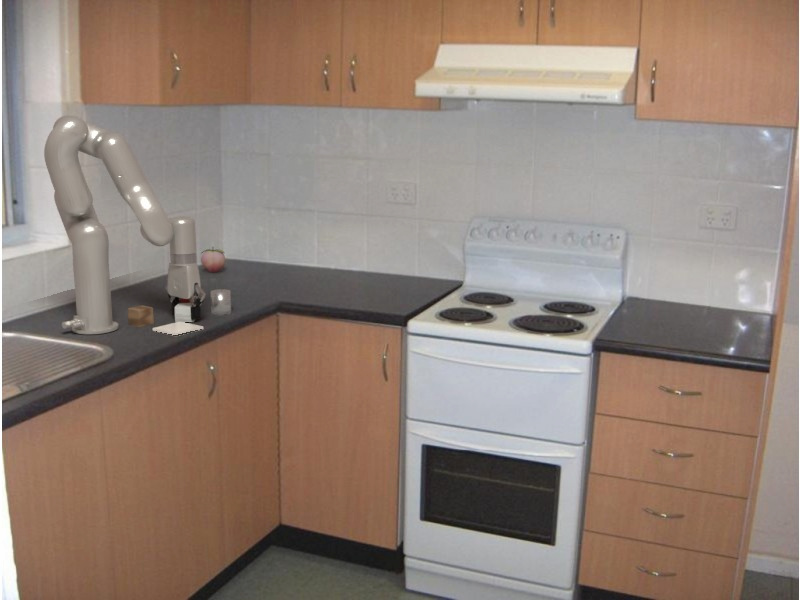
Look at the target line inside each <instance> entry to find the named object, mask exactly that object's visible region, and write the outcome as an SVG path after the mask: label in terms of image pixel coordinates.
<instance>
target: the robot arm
mask: <svg viewBox="0 0 800 600" xmlns="http://www.w3.org/2000/svg"><path fill="white" fill-rule="evenodd" d="M79 152H81V153H83V154H86V155H88V156H90V157H94V158H97V159H99V160H101V161H102V163H103V165H104V167H105V169H106V171H107V173H108V175H109V176H110V178H111V180H112V182H113V183H114V186H115V188H116V190H117V192H118V193H119V194H120V196H121V198H122V199H123V201H125V202H126V204H127V205H128V206H129V207H130V209H131V210H132V212H133V213H134V215H135V216H136V218H137V220H138V223H139V224H140V226H139V231H140V234H141V236H142V238H143V239H144V240H145V241H147V242H148V243H150V244H151V245H153V246H155V247H165V246H166V245H168V244H169V253H170V254H169V255H170V262H169V264H168V269H167V285H166V286H165V290H166V292H167V296H168V298H169V302H170V303H171V315H172V316H173V317H175V306H176V305H177V304H178V303H181V301H179V300H180V298H184V299H189V300H190V302H191V305H192V307H191V319H192V320H195V319H196V320H199V319H201V317H202V316H201V306H202V303H203V302H204V299H205V298H206V296H207V295H206V292H205V291H204V290H203V289H202V287H201V285H202V284H201V276H200V275H201V274H200V269H199V265H198V261H197V260H198V259H197V240H196V239H197V237H196V222H195V221H196V220H195V219H194V218H193V217H191V216H174V217H168V216H167V214H166V211H165V210H164V208H163V206H162V204H161V203H160V201H159V199H158V198H157V196H156V194H155V193H154V191H153V188H152V186H151V185H150V183H149V181H148V179H147V178H146V176H145V173H144V172H143V170H142V168H141V166H140V164H139V162H138V160H137V157H136V156H135V154H134V152H133V150H132V148H131V146H130V143H129V142H128V140H127V139H126V138H125V136H124V135H122V134H120V133H118V132H114V131H110V130H107V129H104V128H101V127H100V126H97V125H94V124H92V123H90V122H87V121H85V120H84V119H82V118H81V117H79V116H77V115H70V114H69V115H67V114H66V115H62V116H61V117H59V118H57V119H56V121H55V122H54V123H53V127H52V130H51V131H50V132H49V134H48V135H47V138H46V141H45V145H44V151H43V153H44V154H43V156H44V162H45V166H46V169H47V172H48V175H49V178H50V181H51V184H52V187H53V189H54V194H53V198H54V199H53V200H54V203H55V206H56V209H57V212H58V213H59V217H60V219H61V222H62V225H63V228H64V230H65V232H66V235H67V237H68V239H69V241H70V243H71V247H72V266H73V267H72V271H73V279H74V293H75V294H74V295H75V307H76V315H73V318H72V319H71V320H67V321H62V322H61V328H62V329H64V330H65V329H69V328H71V329H72V332H73V333H75V334H79V335H101V334H107V333H111V332H114V331H117V330H118V329H119V328H120V327H119V323H118V322H116V321H114V320H113V306H112V294H111V292H112V291H111V278H110V277H111V276H110V264H109V262H110V261H109V253H110V251H109V250H110V249H109V245H110V244H109V243H110V242H109V241H110V239H109V236H108V231H107V230H106V227H104V225H103V224H102V223H100V221H99V219H98V216H97V213H96V210H95V207H94V205H93V201H94V199H93V194H92V191H91V190H90V188H89V186H88V185H89V184H88V183H87V180H86V178H85V175H84V172H83V169H82V166H81V164H80V160H79ZM194 298H195V300H194ZM196 320H195V321H196Z"/></svg>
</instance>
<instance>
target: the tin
mask: <svg viewBox="0 0 800 600" xmlns="http://www.w3.org/2000/svg"><path fill="white" fill-rule="evenodd" d="M231 294H232V293H231V290H230V289H228V288H227V289H225V288H223V289H222V288H221V289H220V288H219V289H218V288H217V289H212V290H210V309H211V310H210V311H211V313H212V314H214V315H213V316H225V315H224V314H228V315H230V313H231V314H232V300H231V299H232V298H231ZM212 314H211V315H212Z"/></svg>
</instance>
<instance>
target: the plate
mask: <svg viewBox="0 0 800 600" xmlns="http://www.w3.org/2000/svg"><path fill="white" fill-rule="evenodd" d="M200 329H202V330H204V326H202V325H198V324H194V323H185V322H181V321H180V322H172V323H168V324H164V325H160V326H155V327H152V331H153V332H156V331H157V332H156V333H160V332H162V333H161V334H164V333H167V334H166V335H168V334H172V335H171V336H173V335H178V334H182V333H186V332H190V331H195V330H198V331H201V330H200ZM195 332H196V331H195Z"/></svg>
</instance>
